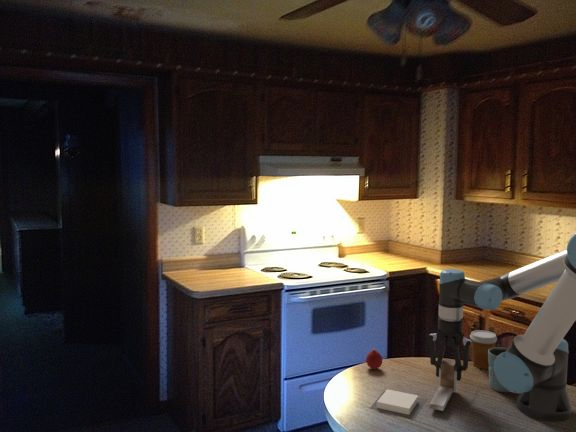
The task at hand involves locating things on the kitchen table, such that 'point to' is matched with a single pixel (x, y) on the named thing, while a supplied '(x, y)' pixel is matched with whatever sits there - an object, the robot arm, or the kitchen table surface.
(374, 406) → the mat
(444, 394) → the tan l-shaped piece
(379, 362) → the onion
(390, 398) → the tile
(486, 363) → the disposable coffee cup
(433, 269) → the kitchen table surface
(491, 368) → the grey-green hollow open cylinder
